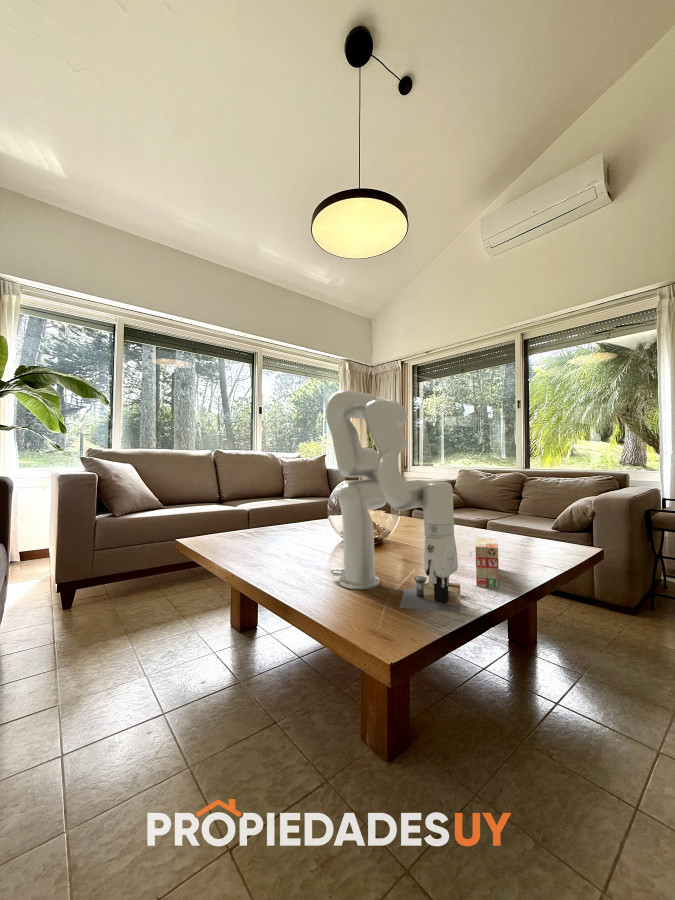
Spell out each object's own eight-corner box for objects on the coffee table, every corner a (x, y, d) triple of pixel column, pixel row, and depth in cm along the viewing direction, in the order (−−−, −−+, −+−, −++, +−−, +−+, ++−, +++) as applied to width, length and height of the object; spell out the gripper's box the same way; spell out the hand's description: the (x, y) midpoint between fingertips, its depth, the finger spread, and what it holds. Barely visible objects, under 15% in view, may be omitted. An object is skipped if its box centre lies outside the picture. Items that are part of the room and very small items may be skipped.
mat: (399, 608, 96) (399, 607, 96) (404, 589, 110) (404, 588, 110) (460, 613, 93) (460, 612, 93) (458, 593, 106) (458, 592, 106)
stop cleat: (430, 594, 105) (430, 583, 105) (430, 592, 107) (430, 581, 107) (460, 596, 103) (460, 585, 103) (460, 594, 105) (459, 583, 105)
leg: (456, 606, 96) (455, 592, 96) (423, 598, 102) (423, 585, 102) (460, 602, 98) (460, 588, 98) (428, 595, 104) (428, 582, 104)
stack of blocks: (476, 567, 130) (475, 531, 131) (496, 568, 128) (495, 532, 129) (476, 587, 110) (475, 545, 111) (499, 589, 108) (498, 547, 108)
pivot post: (414, 597, 103) (414, 579, 103) (415, 593, 106) (414, 575, 106) (426, 598, 102) (426, 580, 102) (427, 594, 105) (426, 576, 105)
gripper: (439, 536, 89) (442, 614, 88) (464, 526, 100) (467, 596, 99) (411, 533, 94) (414, 607, 93) (438, 524, 105) (441, 590, 104)
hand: (441, 601), depth 96 cm, fingers closed
